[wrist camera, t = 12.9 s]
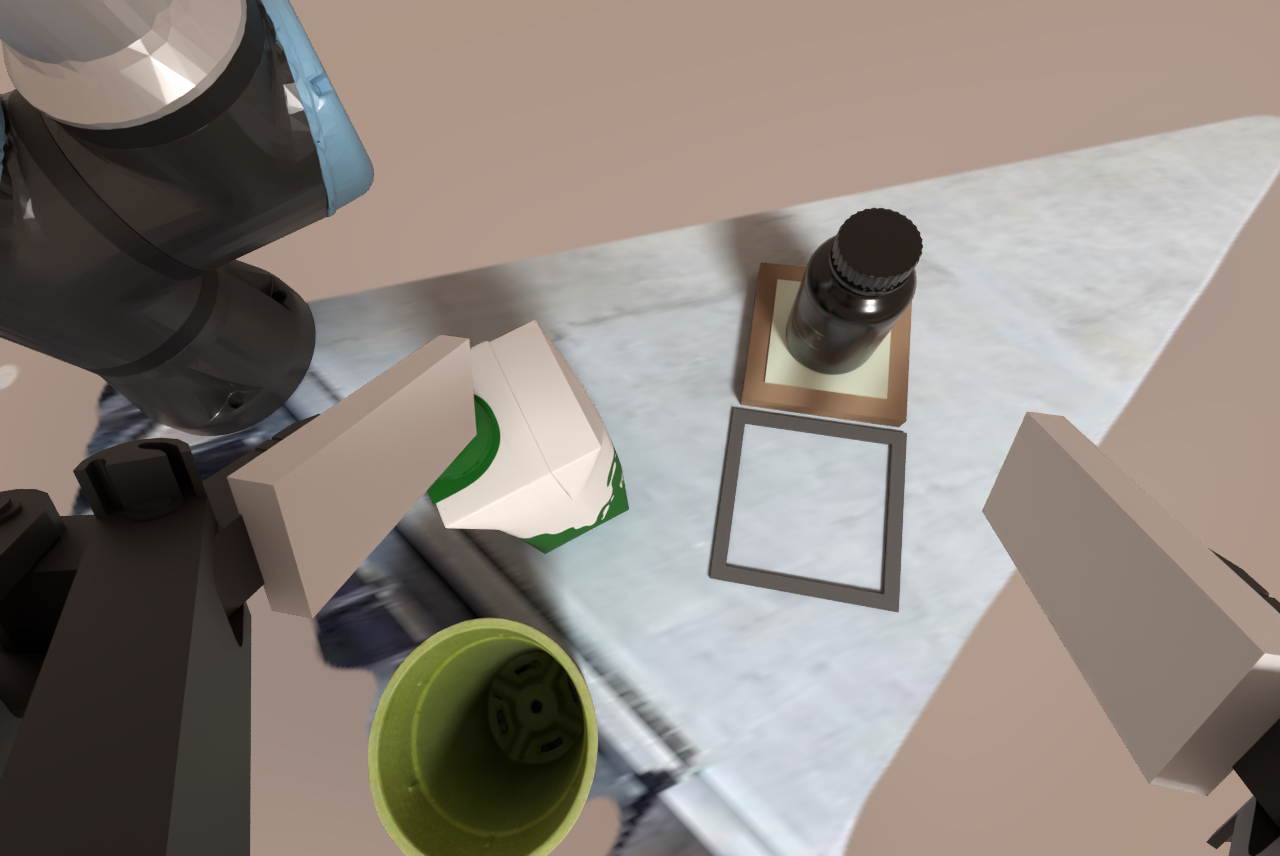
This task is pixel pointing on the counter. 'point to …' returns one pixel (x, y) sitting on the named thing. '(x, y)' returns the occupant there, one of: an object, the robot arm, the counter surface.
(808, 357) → the supplement bottle
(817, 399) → the walnut board
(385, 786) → the plant pot
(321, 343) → the counter surface
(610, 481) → the milk carton
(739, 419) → the ring
